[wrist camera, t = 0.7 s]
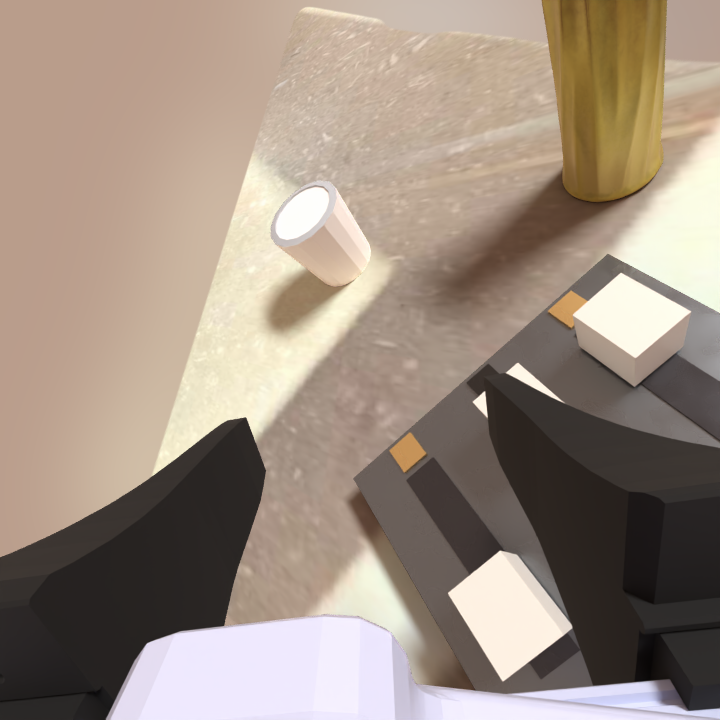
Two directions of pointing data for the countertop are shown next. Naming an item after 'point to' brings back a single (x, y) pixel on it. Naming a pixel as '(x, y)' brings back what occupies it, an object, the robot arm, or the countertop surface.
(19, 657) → the robot arm
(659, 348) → the switch
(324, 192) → the white cup
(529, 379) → the switch
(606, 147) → the vase
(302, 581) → the countertop surface
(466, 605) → the switch
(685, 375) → the console
